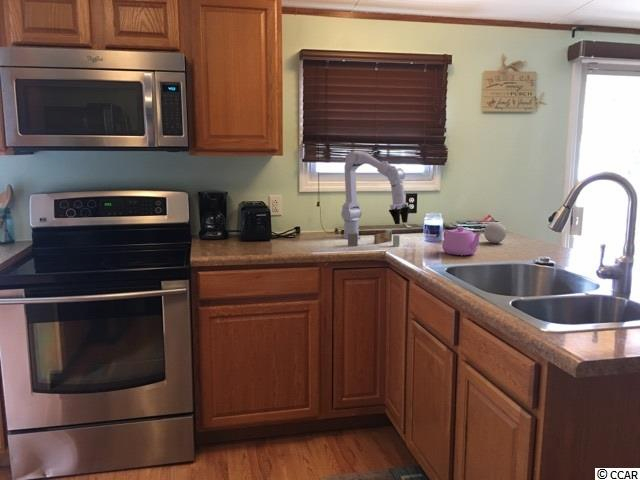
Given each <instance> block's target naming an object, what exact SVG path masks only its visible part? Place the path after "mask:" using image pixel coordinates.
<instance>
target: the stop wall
mask: <svg viewBox="0 0 640 480" xmlns="http://www.w3.org/2000/svg"><path fill="white" fill-rule="evenodd" d="M392 246H393V247H400V234H392Z"/></svg>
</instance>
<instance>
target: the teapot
mask: <svg viewBox="0 0 640 480" xmlns="http://www.w3.org/2000/svg"><path fill="white" fill-rule="evenodd" d="M483 233H484V230H483V231H478V232H476V233H475V234H474V232H473V231H472V230H467V229H465V227H463V226H457V227H456V229H447V230H444V232H443V233H442V235H443V241H442V250H443V251H444V253H447V254H448V255H456V256H458V255H464V256H469V255H473V254H475V253H476V252H477V250H478V246H479V244H480V235H481V234H483Z"/></svg>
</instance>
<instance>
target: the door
mask: <svg viewBox="0 0 640 480" xmlns="http://www.w3.org/2000/svg"><path fill="white" fill-rule="evenodd" d="M373 237H374V238H373V240H374V242H373V243H374V244H375V245H378V244H384V243H390V242H392V241H391V232H386V231H385V232H381V233H376V234H375V233H374V236H373Z"/></svg>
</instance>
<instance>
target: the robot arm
mask: <svg viewBox="0 0 640 480" xmlns="http://www.w3.org/2000/svg"><path fill="white" fill-rule="evenodd" d="M344 163H345V164H344V188H345V202H344V204H343V205H342V206H341V207H342V210H341V212H340V214H341V218H342V220H343V221H344V224H343V234H342V237H343V238H344V239H345V240H346V239H347V240H348V232H356V233H357V234H358V239H361V237H360V236H359V232H360V231H359V228H360V227H359V220H360V219H361V217H362V213H363V212H362V209H361V204H360V203H359V202H358V201H357V199H358V197H357V178H356V177H357V173H356V172H357V169H358V168H359V167H361V166H362V165H365V164H368V165H370V166H372V167H374V168H376V169H377V172H378V173H379V174H380V175H381V174H382V175H383V176H384V177H386V178H387V179H388V181H389V184H390V189H391V198H392V204H391V205H389V207H390V209H389V210H388V212H389V214H390V216H391V217H392V219H393V223H394V224H395V225H400V224H401V223H402V224H405V223H408V219H409V212H410V210H411V207H410V206H409V203H408V202H406V198H405V197H406V196H405V188H404V179H405V175H406V174H405V171H404V170H403V169H402V168H397V166H395V165H391V164H390V163H389V161H386V160H385V161H380V160H378V159H377V158H375V157H374V156H372V155H370V154H369V152H366V151H364V150H361V151H353V150H352V151H351V150H350V151H349V152H348V153H347V154H345V162H344Z"/></svg>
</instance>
